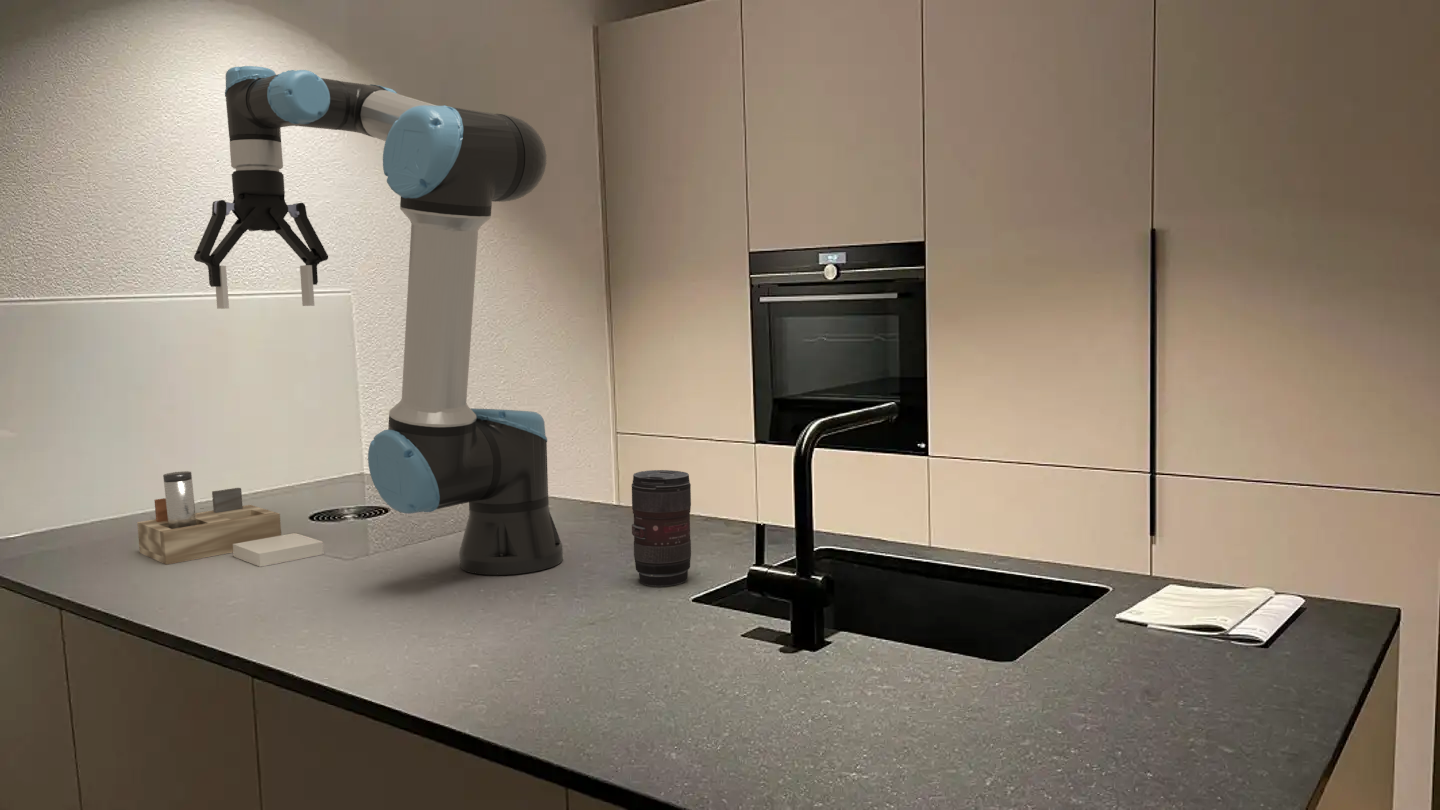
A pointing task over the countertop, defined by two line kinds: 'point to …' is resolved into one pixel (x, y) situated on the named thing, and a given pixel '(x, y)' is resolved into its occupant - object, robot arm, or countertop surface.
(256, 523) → the socket block
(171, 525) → the shaker with dark cap
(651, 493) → the camera lens
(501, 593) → the countertop surface
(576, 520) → the countertop surface
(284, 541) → the plate
